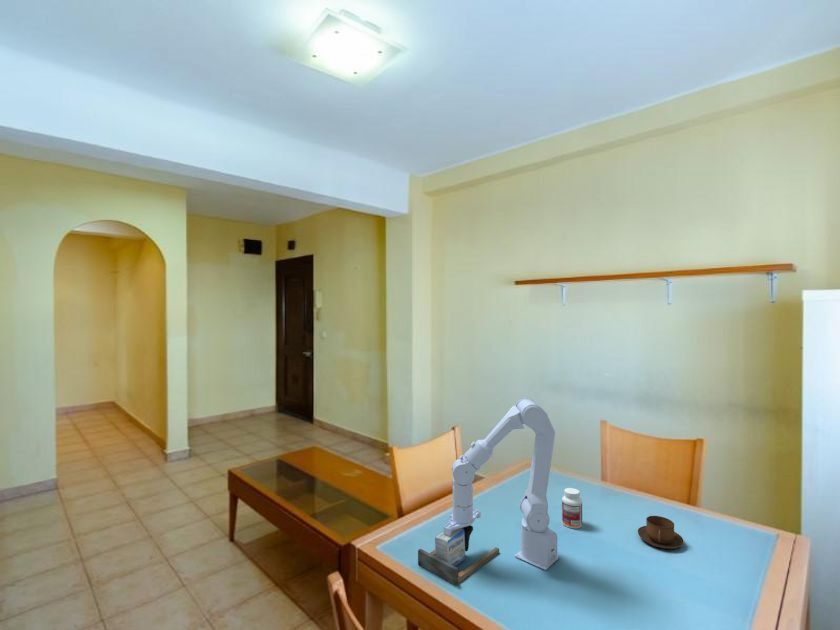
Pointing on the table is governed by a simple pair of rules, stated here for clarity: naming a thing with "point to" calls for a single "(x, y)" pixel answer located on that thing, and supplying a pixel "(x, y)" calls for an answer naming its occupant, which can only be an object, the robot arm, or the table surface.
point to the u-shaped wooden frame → (448, 570)
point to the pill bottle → (572, 508)
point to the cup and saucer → (660, 533)
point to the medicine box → (451, 547)
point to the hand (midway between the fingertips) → (462, 550)
